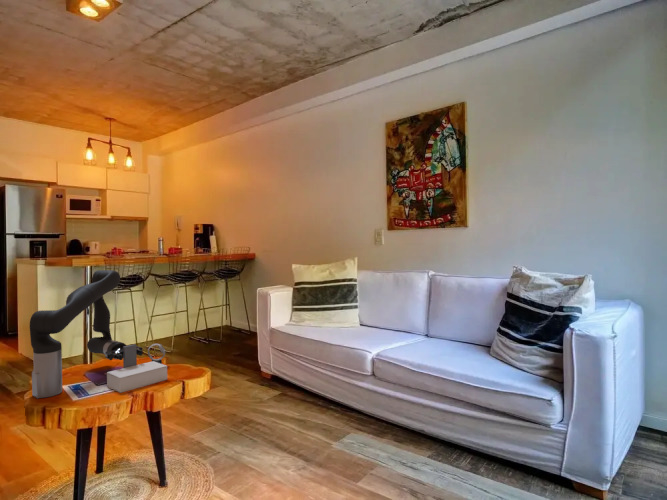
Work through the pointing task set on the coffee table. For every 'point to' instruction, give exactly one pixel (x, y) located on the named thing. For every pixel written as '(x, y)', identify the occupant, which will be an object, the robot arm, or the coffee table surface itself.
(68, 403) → the coffee table surface
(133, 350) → the dark grey upright bracket
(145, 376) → the light grey rectangular box
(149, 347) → the watch
